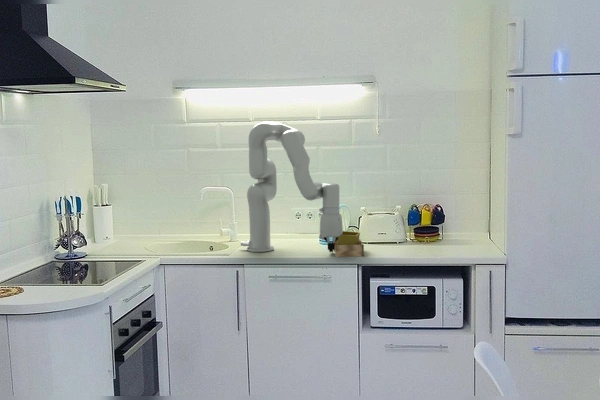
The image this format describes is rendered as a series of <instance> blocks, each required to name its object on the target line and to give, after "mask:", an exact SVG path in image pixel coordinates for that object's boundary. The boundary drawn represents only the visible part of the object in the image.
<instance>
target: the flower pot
mask: <svg viewBox="0 0 600 400" xmlns="http://www.w3.org/2000/svg"><path fill="white" fill-rule="evenodd" d="M360 235H361V232H359V231H346V230H343V234H342V235H340V236H339V237H338V245H358V243H359V239H360Z"/></svg>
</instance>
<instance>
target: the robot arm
mask: <svg viewBox="0 0 600 400" xmlns="http://www.w3.org/2000/svg"><path fill="white" fill-rule="evenodd" d="M267 141H276V142H279V143H281V145H282V148H283V149H284V151H285V154H286V156H287V157H288V160H289V162H290V164H291V166H292V171H293V176H294V181H295V184H296V186H297V188H298V191H299V192H300V195H302V197H303V198H304V199H305V200H307V201H316V200H318V199H322V207H321V208H319V209H318V210H319V212H320V213H321V214H320V221H319V236H318V238H319V239H320V240H324V241H325V242H326V243H327V251H328V252H329V253H334V243H335V242H336V241H337V240H338V237H339V236H340V235H342V234H343V231H344V229H343V216H342V214H341V213H340V185H339V184H338V183H331V182H328V183H323V182H319V181H317V182H316V181H315V182H314V180H313V178H312V177H311V174H310V168H309V167H310V163H311V161H310V159H311V158H310V156H309V154H308V153H307V150H306V149H305V146H304V145H305V142H306V138H305V135H304V133H303V132H302V131H301V130H298V129H296V128H293V127H291V126H288V125H285V124H282V123H281V122H277V121H262V122H260V123H257V124H255V125H254V126H253V127H252V128H251V129H250V131H249V134H248V169H249V170H248V172H249V175H250V177H251V178H252V179H253V180H256V181H257V182H255V183H252V184H251V185H250V186H249V188H247V192H246V198H247V203H248V213H249V214H248V215H249V216H248V217H249V240H247V241H240V247H247V248H246V251H248V252H251V253H252V252H253V253H266V252H271V251H272V252H273V251H274V250H275V248H274V247H275V246H272V244H271V214H270V213H271V211H270V206H269V202H270V201H271V200H273V199H274V198H275V197H276V194H277V189H278V188H277V184H278V183H277V167H276V165H275V163H274V161H273V160H271V159H269V158H268V146H267ZM330 238H332V240H331V239H330Z"/></svg>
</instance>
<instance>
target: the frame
mask: <svg viewBox="0 0 600 400" xmlns="http://www.w3.org/2000/svg"><path fill="white" fill-rule="evenodd" d="M333 252H335V257H336V258H338V257H341V258H342V257H345V258H346V257H364V255H365V254H364V253H365V245H364V243H363V242H362V240H361V239H360V238H359V243H358V245H338V240H337V241H336V242H335V243H334V250H333Z"/></svg>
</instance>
